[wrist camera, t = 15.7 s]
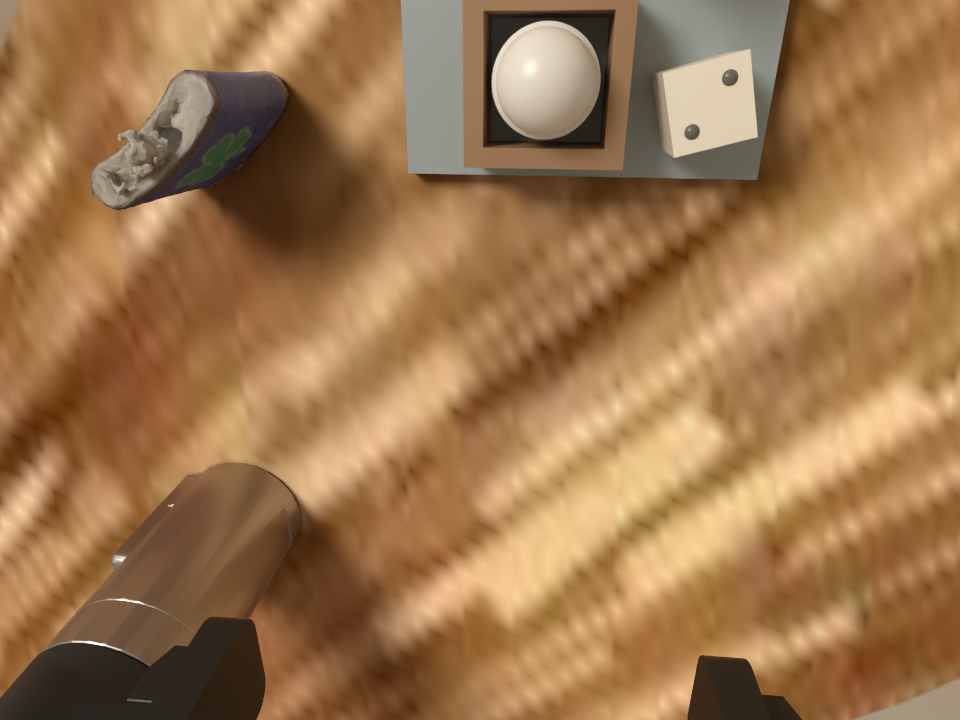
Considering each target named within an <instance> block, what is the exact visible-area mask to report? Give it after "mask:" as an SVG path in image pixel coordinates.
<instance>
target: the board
mask: <svg viewBox="0 0 960 720" xmlns="http://www.w3.org/2000/svg"><path fill="white" fill-rule="evenodd" d="M789 2H790V0H401V16H402V38H403V61H404V84H405V107H406V129H407V152H408V173H415V174H468V175H521V176H574V177H627V178H680V179H733V180H757V177H758V171H759V166H760V160H761V155H762V149H763V144H764V138H765V133H766V128H767V122H768V117H769V111H770V106H771V100H772V95H773V89H774V84H775V78H776V73H777V67H778V62H779V56H780V51H781V46H782V40H783V35H784V29H785V24H786V18H787V13H788V7H789ZM540 21H557V22H562V23H565V24H567V25H570V26H572V27H573V28H575V29H577V30H578V31H579V32H581V33H582V34H583V35H584V36H585V37H586V38H587V39H588V41H589V42H590V44H591V45H592V47H593V49H594V51H595V53H596V55H597V58H598V61H599V65H600V73H601V83H600V90H599V94H598V98H597V100H596V103H595V105H594V107H593V109H592V111H591V113H590V114H589V115H588V117H587V118H586V119H585V121H584V122H583V123H582V124H581V125H580V126H578V127H577V128H576V129H575V130H573V131H572V132H570V133H568V134H566V135H564V136H561V137H558V138H554V139H547V140H541V139H534V138H529V137H527V136H524V135H522V134H520V133H518V132H517V131H515V130H514V129H513V128H511V127H510V126H509V125H508V124H507V123H506V122H505V120H504V119H503V118H502V116H501V115H500V113H499V111H498V109H497V107H496V105H495V101H494V98H493V93H492V73H493V68H494V64H495V61H496V58H497V56H498V54H499V52H500V50H501V48H502V47H503V45H504V44H505V43H506V41H507V40H508V39H509V38H510V37H511V36H512V35H513V34H514V33H516V32H517V31H518V30H520V29H521V28H523V27H525V26H527V25H530V24H532V23H536V22H540ZM746 49H750V50H751V62H752V74H753V86H754V98H755V110H756V122H757V134H758V137H756V138H752V139H748V140H744V141H740V142H736V143H732V144H728V145H724V146H720V147H716V148H712V149H708V150H704V151H700V152H696V153H692V154H688V155H684V156H680V157H676V158H674V157H672V156H671V155H669V154H668V153H666V152H665V151H663V150H662V146H661V139H660V132H659V125H658V118H657V111H656V104H655V97H654V90H653V83H652V76H651V74H652V73H656V72H659V71H663V70H667V69H670V68H674V67H677V66H681V65H685V64H688V63H692V62H695V61H699V60H703V59H706V58H710V57H713V56H717V55H721V54H724V53H728V52H733V51H740V50H746Z"/></svg>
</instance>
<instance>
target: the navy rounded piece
mask: <svg viewBox="0 0 960 720" xmlns="http://www.w3.org/2000/svg"><path fill="white" fill-rule="evenodd" d="M288 97H289V94H288V91H287V88H286V85H285V84H284V83H283V82H282V80H281V78H279V77H278V76H277V75H275V74H274V73H271V72H267V71H260V72H212V71H198V70H184V71H182V72H181V73H179V74H178V75H177V76H175V77H174V78H173V79H172V80H171V81H170V83H169V85H168V87H167V89H166V92H165V93H164V95H163V96H162V98H161V101H160V103H159V105H158V106H157V108H156V110H155V111H154V112H153V113H152V114H151V116H150V117H149V118H148V119H147V120H146V122H145V123H144V125H143V126H142V127H141V128H140V129H139V131H138V132H136V131H135V130H132V129H130V130H128V131H126V132H125V133H121V134H118V140H119V142H120V141H121V140H123V139H125V138H126V139H127V140H129V142H128V143H126V144H125V145H124V146H123V147H122V148H121V149H120V150H119V151H117V152H116V153H115V154H113V155H112V156H110V157H108V158H107V159H105V160H103V161H101V162H100V163H99V164H98V165H97V166H96V167H95V168H94V169H93V170H92V173H91V176H90V177H91V180H92V181H91V187H92V191H93V195H94V196H95V197H97V198H98V199H99V200H100V201H101V202H102V203H103V204H104V205H106V206H108V207H110V208H112V209H115V210H121V209H127V208H129V207H134V206H136V205H140V204H142V203H147V202H151V201H154V200H157V199H160V198H164V197H167V196H172V195H175V194H180V193H183V192H186V191H191V190H195V189H199V188H205V187H210V186H213V185H214V184H218V183H220V182H222V181H223V180H225V178H227V177H228V176H229V175H231V174H233V173H235V172H236V170H237V169H239V168H241V167H242V165H244V164H245V163H246V161H247V160H248V159H250V158H251V157H252V156H253V154H254V152H255V151H256V150H257V148H258V147H259V146H260V145H261V144H262V142H263V141H264V140H265V138H266V137H267V136H268V135H269V133H270V131H271V130H273V128H274V127H275V126H276V124H277V123H278V121H279V119H281V117H282V115H283V113H284V111H285V108H286V107H287V103H288Z"/></svg>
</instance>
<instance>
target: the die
mask: <svg viewBox="0 0 960 720" xmlns="http://www.w3.org/2000/svg"><path fill="white" fill-rule="evenodd" d="M651 76H652V83H653V90H654V97H655V104H656V111H657V118H658V125H659V132H660V139H661V146H662V150H663V151H665V152H666V153H668V154H669V155H671V156H672V157H674V158H676V157H680V156H684V155H688V154H692V153H696V152H700V151H704V150H708V149H712V148H716V147H720V146H724V145H728V144H732V143H736V142H740V141H744V140H748V139H752V138H756V137H758V134H757V122H756V110H755V98H754V86H753V74H752V62H751V50H750V49H746V50H740V51H733V52H728V53H724V54H721V55H717V56H713V57H710V58H706V59H703V60H699V61H695V62H692V63H688V64H685V65H681V66H677V67H674V68H670V69H667V70H663V71H659V72H656V73H652V74H651Z"/></svg>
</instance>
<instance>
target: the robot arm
mask: <svg viewBox="0 0 960 720" xmlns="http://www.w3.org/2000/svg"><path fill="white" fill-rule="evenodd" d="M299 527H300V512H299V508H298V505H297V503H296V501H295V499H294V497H293V495H292V494H291V492H290V491H289V490H288V489H287V487H286V486H285V485H284V484H283V483H281V482H280V481H279V480H278V479H277V478H276V477H274V476H272V475H271V474H269V473H268V472H266V471H264V470H262V469H259V468H257V467H255V466H251V465H246V464H242V463H225V464H219V465H216V466H214V467H211V468H209V469H208V470H206V471H205V472H203V473H202V474H200V475H187V476H186V477H185V478H184V479H183V480H182V481H181V483H180V484H179V485H178V486H177V487H176V488H175V489H174V490H173V491H172V492H171V493H170V494H169V495H168V496H167V498H166V499H165V500H164V501H163V502H162V503H161V504H160V505H159V506H158V507H157V508H156V509H155V510H154V511H153V513H152V514H151V515H150V516H149V517H148V518H147V519H146V520H145V521H144V522H143V523H142V524H141V525H140V526H139V528H138V529H137V530H136V531H135V532H134V533H133V534H132V535H131V536H130V537H129V538H128V539H127V540H126V541H125V542H124V544H123V545H122V546H121V547H120V548H119V549H118V550H117V551H116V552H115V553H114V555H113V556H112V559H111V563H112V566H113V570H114V571H113V572H112V573H111V574H110V576H109V577H108V578H107V579H106V580H105V581H104V582H103V583H102V584H101V586H100V587H99V588H98V589H97V590H96V591H95V592H94V593H93V594H92V595H91V597H90V598H89V599H88V600H87V601H86V602H85V603H84V604H83V605H82V607H81V608H80V609H79V610H78V611H77V612H76V613H75V615H74V616H73V617H72V618H71V619H70V620H69V621H68V622H67V623H66V625H65V626H64V627H63V628H62V629H61V630H60V631H59V632H58V633H57V635H56V636H55V637H54V638H53V639H52V640H51V641H50V642H49V643H48V645H47V646H46V647H45V648H44V649H43V650H42V651H41V652H40V653H39V655H38V656H37V657H36V658H35V659H34V660H33V661H32V662H31V663H30V664H29V666H28V667H27V668H26V669H25V670H24V671H23V673H22V674H21V675H20V676H19V677H18V678H17V679H16V681H15V682H14V683H13V684H12V685H11V686H10V688H9V689H8V690H7V691H6V692H5V693H4V694H3V696H2V697H1V698H0V720H256V719H257V717H258V715H259V712H260V709H261V706H262V703H263V698H264V693H265V673H264V668H263V663H262V658H261V653H260V648H259V643H258V637H257V632H256V627H255V624H254V622H253V621H252V620H251V619H249V618H250V616H251V615H252V613H253V611H254V609H255V608H256V606H257V604H258V602H259V601H260V599H261V597H262V595H263V594H264V592H265V590H266V588H267V587H268V585H269V583H270V581H271V580H272V578H273V576H274V574H275V573H276V571H277V569H278V568H279V566H280V564H281V562H282V560H283V559H284V557H285V555H286V553H287V552H288V551H289V549H290V548H291V545H292V543H293V541H294V539H295V537H296V536H297V534H298V531H299ZM688 720H802V719H801V718H800V716H799V715H798V714H797V713H796V712H795V710H794V709H793V708H792V707H791V706H790V704H789V703H788V702H787V701H786V700H785V698H784V697H783V696H771V695H761V692H760V689H759V686H758V684H757V681H756V678H755V675H754V673H753V670H752V667H751V665H750V663H749V662H748V661H747V660H746V659H743V658H730V657H717V656H704V655H701V656H700V657H699V660H698V663H697V669H696V674H695V679H694V685H693V690H692V695H691V701H690V706H689V712H688Z"/></svg>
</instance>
